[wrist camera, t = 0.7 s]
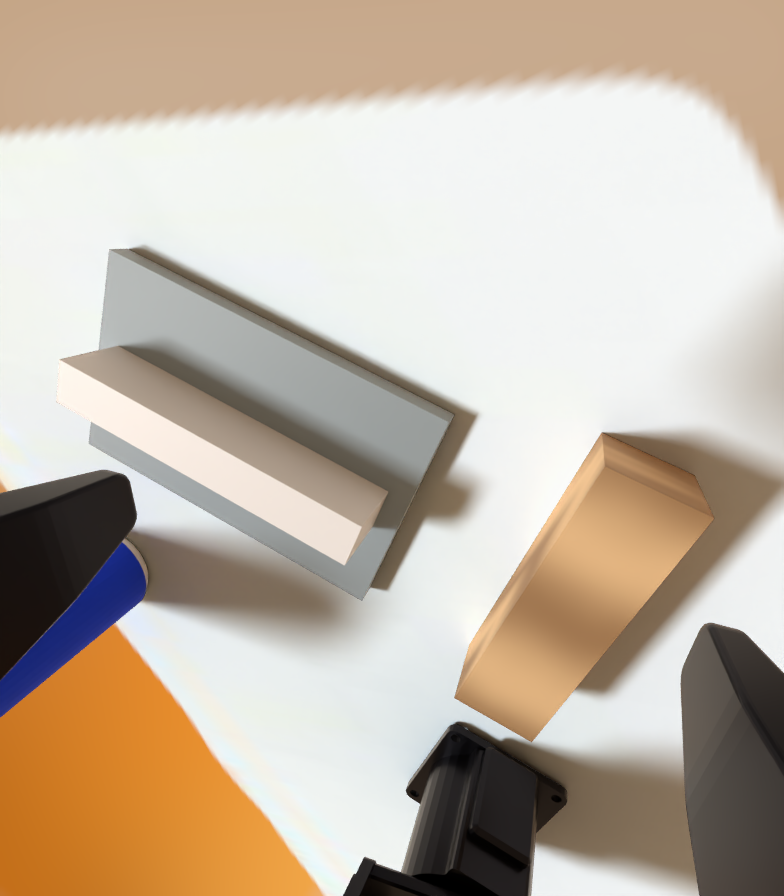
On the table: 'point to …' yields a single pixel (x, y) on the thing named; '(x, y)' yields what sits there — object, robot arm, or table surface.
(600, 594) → the oak bar
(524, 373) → the table surface
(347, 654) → the table surface
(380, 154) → the table surface
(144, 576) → the beverage can
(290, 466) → the stand
